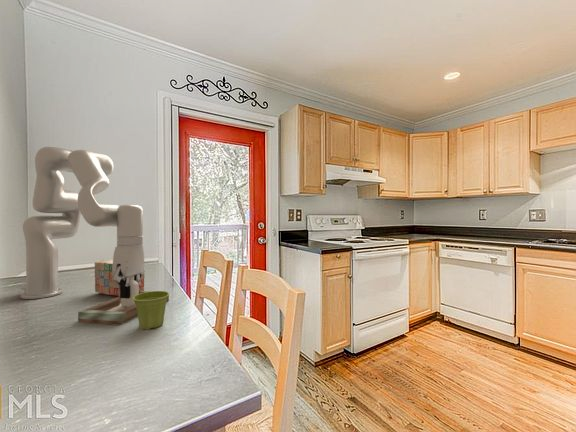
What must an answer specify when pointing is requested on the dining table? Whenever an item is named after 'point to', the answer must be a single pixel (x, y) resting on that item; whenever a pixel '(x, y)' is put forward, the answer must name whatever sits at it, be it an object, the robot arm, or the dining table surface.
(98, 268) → the stack of blocks
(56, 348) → the dining table surface
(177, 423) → the dining table surface
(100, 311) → the divided wooden tray
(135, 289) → the eye dropper bottle
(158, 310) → the plant pot
